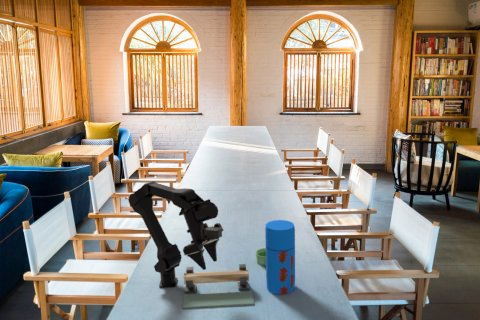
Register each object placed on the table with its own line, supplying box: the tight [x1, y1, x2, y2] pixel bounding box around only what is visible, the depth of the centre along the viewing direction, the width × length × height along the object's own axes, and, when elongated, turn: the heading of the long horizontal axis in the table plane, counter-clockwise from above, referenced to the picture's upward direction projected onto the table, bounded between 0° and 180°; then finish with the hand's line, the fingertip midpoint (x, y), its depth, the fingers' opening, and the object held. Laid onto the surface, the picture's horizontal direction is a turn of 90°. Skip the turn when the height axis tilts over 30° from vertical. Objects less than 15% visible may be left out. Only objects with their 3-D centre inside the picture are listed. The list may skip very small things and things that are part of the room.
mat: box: [182, 290, 255, 310], centre depth 163 cm, size 8×25×1 cm, turn 93°
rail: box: [183, 269, 250, 285], centre depth 169 cm, size 3×24×3 cm, turn 93°
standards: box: [184, 263, 250, 294], centre depth 170 cm, size 7×24×8 cm, turn 93°
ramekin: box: [255, 247, 266, 267], centre depth 192 cm, size 9×9×4 cm
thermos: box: [264, 219, 296, 295], centre depth 168 cm, size 11×11×25 cm
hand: (210, 265), depth 161 cm, fingers open, 9 cm apart
